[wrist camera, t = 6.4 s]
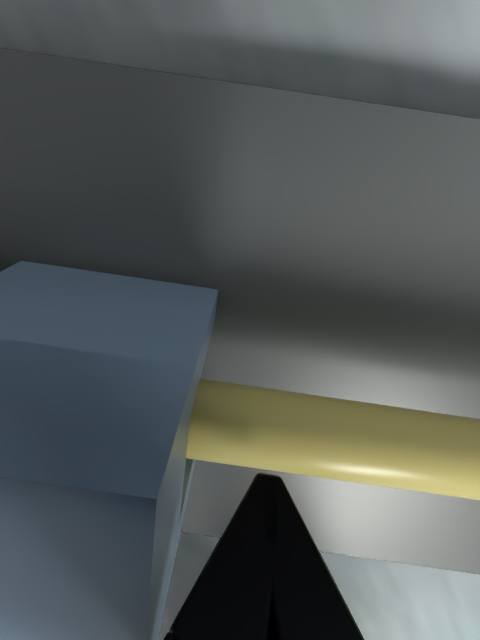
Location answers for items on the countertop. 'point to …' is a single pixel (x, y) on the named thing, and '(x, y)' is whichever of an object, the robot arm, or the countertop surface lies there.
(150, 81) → the sliding rail with carriage
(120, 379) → the sleeve
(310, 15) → the countertop surface
